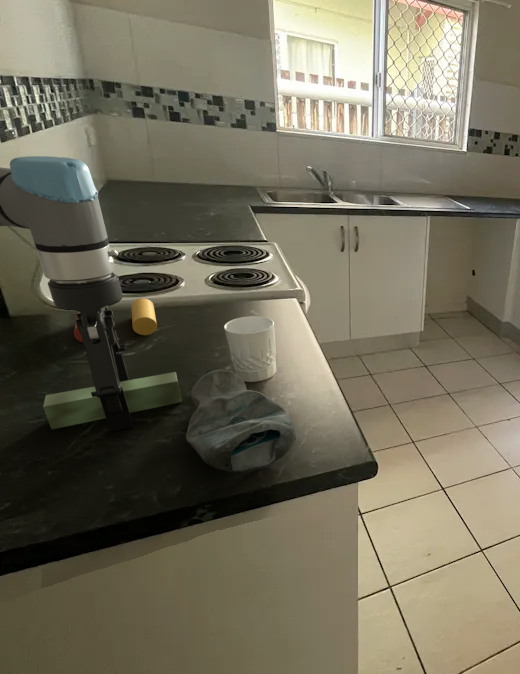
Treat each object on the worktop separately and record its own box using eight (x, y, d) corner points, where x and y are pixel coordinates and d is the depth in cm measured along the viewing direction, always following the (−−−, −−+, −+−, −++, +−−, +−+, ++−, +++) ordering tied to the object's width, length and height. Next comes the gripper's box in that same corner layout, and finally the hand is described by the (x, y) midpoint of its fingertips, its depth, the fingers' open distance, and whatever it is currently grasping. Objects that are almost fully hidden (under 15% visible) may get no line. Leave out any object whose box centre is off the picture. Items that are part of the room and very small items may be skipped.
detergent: (309, 457, 68) (261, 379, 85) (301, 418, 65) (252, 345, 82) (206, 500, 61) (175, 405, 78) (191, 458, 57) (162, 368, 74)
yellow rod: (158, 333, 99) (154, 315, 97) (135, 336, 97) (130, 318, 95) (155, 313, 108) (151, 297, 106) (133, 316, 105) (129, 299, 104)
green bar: (51, 429, 69) (42, 406, 67) (53, 417, 71) (45, 395, 70) (182, 402, 78) (177, 381, 76) (180, 392, 80) (175, 371, 79)
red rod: (103, 341, 94) (98, 322, 92) (77, 344, 92) (71, 326, 90) (104, 319, 102) (99, 302, 101) (80, 322, 100) (75, 305, 98)
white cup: (283, 378, 87) (277, 329, 83) (235, 388, 83) (226, 336, 79) (275, 360, 93) (269, 313, 89) (229, 368, 89) (221, 319, 85)
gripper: (117, 300, 59) (155, 441, 68) (116, 252, 76) (147, 370, 85) (36, 308, 55) (87, 458, 64) (54, 256, 72) (93, 379, 81)
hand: (121, 408), depth 75 cm, fingers open, 11 cm apart
